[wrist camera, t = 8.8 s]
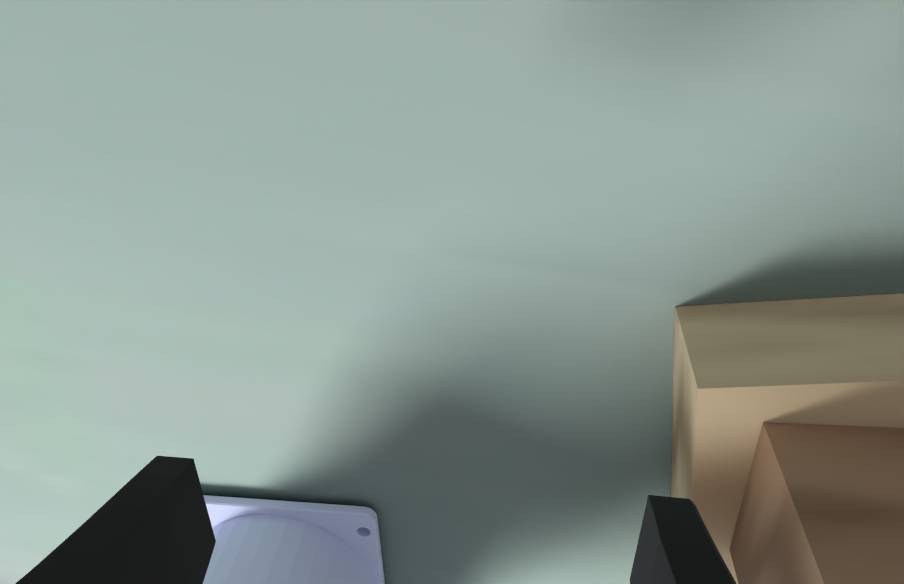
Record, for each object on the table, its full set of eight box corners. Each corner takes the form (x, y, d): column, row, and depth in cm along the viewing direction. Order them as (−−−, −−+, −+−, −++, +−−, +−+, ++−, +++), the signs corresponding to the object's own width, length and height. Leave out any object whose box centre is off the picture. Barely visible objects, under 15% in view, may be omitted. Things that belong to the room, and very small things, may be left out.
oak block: (914, 482, 24) (972, 587, 21) (668, 486, 26) (687, 586, 22) (971, 282, 20) (1055, 374, 17) (673, 300, 21) (697, 388, 18)
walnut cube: (909, 559, 21) (1004, 745, 16) (729, 549, 21) (777, 727, 17) (971, 430, 18) (1104, 614, 14) (763, 422, 18) (829, 597, 14)
